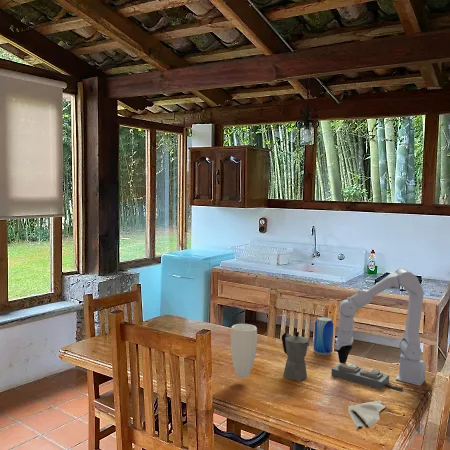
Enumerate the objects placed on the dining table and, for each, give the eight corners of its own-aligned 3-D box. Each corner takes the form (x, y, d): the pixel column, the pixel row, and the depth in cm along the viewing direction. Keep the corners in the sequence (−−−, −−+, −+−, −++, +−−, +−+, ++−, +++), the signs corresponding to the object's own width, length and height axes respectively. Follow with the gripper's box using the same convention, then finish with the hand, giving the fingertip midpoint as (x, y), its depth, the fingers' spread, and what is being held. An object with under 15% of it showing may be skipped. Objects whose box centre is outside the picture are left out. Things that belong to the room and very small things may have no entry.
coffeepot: (315, 379, 183) (317, 334, 181) (297, 384, 177) (299, 337, 176) (289, 366, 195) (291, 324, 194) (272, 370, 190) (273, 327, 189)
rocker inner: (380, 371, 181) (379, 368, 181) (376, 374, 178) (376, 371, 178) (366, 371, 184) (365, 368, 184) (362, 373, 181) (362, 370, 181)
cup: (260, 381, 178) (262, 326, 177) (246, 390, 170) (248, 332, 169) (238, 375, 184) (239, 321, 183) (223, 383, 176) (225, 327, 174)
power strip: (405, 387, 178) (406, 377, 177) (398, 394, 171) (399, 384, 170) (340, 369, 194) (341, 360, 193) (331, 375, 187) (331, 366, 186)
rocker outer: (357, 368, 186) (358, 365, 186) (354, 370, 183) (354, 367, 183) (344, 363, 190) (344, 360, 190) (341, 366, 187) (341, 363, 187)
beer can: (327, 357, 208) (328, 322, 207) (310, 353, 213) (311, 318, 212) (335, 352, 215) (336, 318, 214) (318, 348, 220) (320, 315, 219)
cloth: (367, 397, 169) (367, 391, 169) (404, 411, 159) (404, 404, 159) (327, 420, 151) (327, 413, 151) (365, 436, 141) (366, 429, 141)
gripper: (343, 324, 195) (340, 355, 196) (328, 331, 184) (325, 364, 185) (359, 328, 191) (356, 360, 192) (345, 335, 180) (342, 369, 181)
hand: (342, 362), depth 188 cm, fingers closed, pressing on rocker outer
